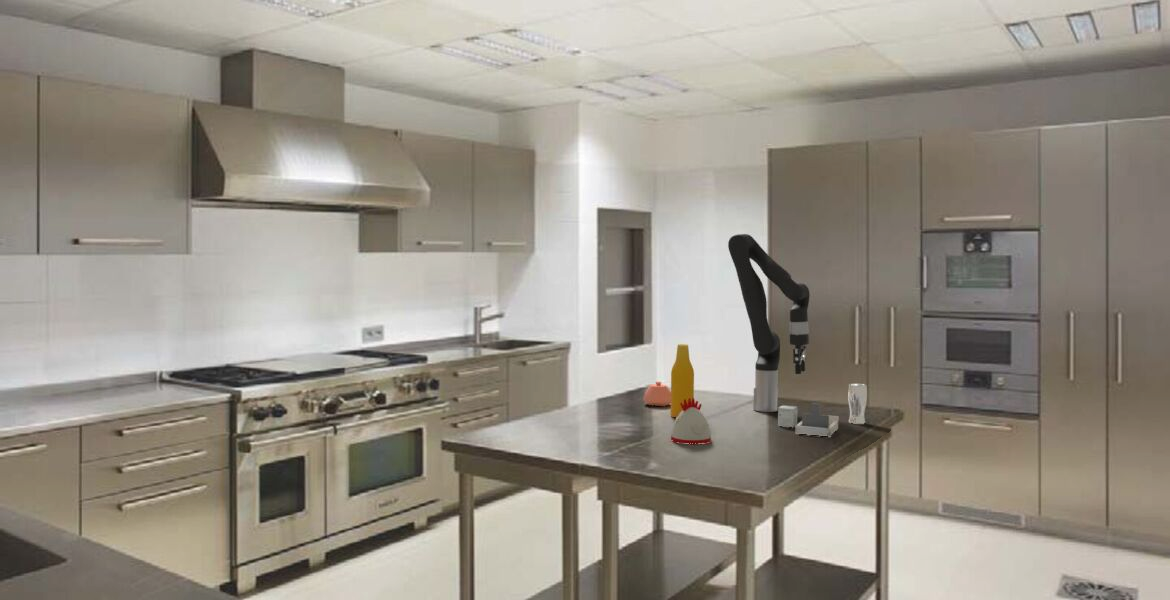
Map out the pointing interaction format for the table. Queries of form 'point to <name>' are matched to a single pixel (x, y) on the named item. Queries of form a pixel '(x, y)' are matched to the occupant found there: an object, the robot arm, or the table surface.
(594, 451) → the table surface
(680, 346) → the beer bottle
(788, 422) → the product box
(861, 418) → the beer glass
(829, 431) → the light grey tray
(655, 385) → the sugar bowl
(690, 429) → the beanie hat
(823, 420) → the pusher
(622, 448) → the table surface
